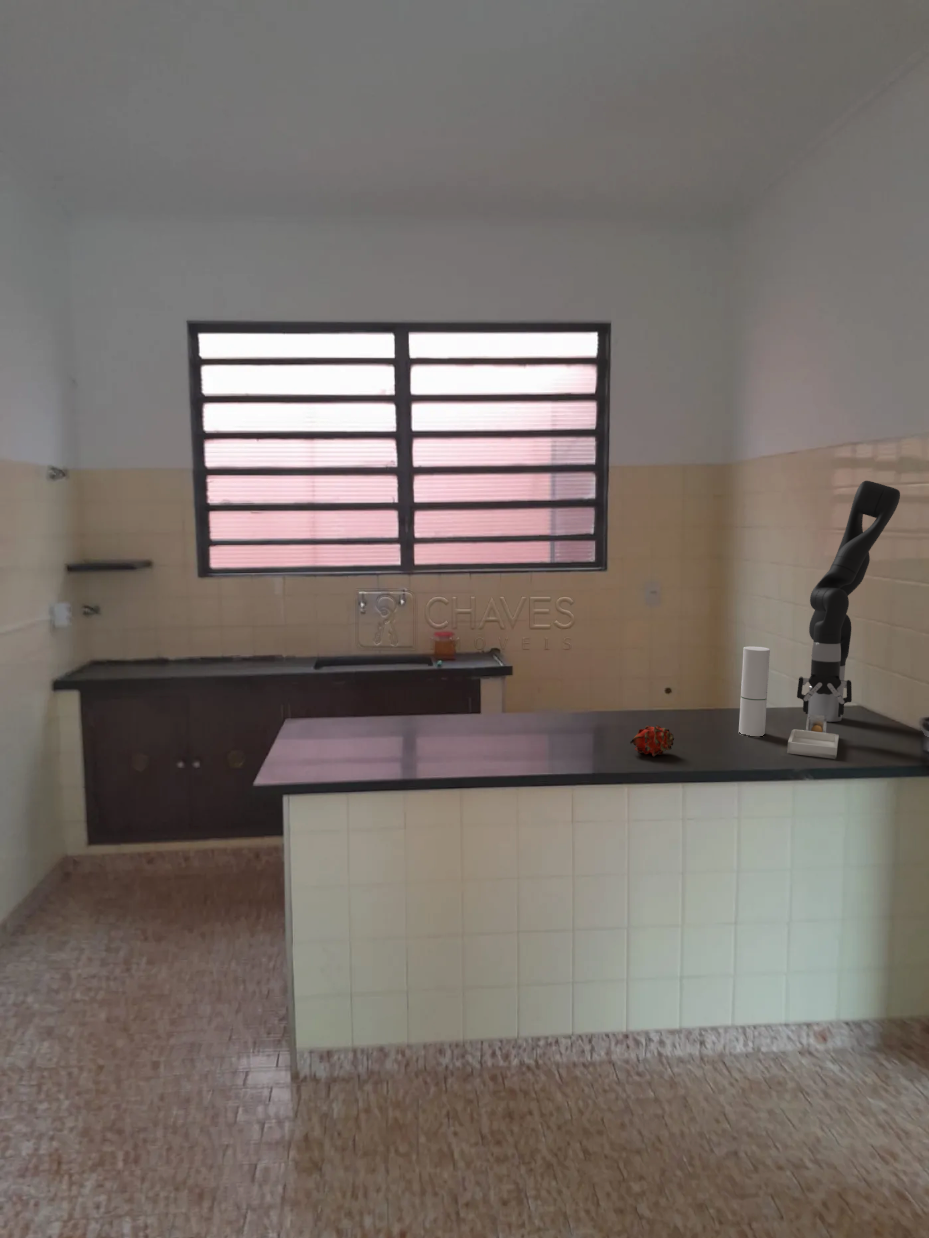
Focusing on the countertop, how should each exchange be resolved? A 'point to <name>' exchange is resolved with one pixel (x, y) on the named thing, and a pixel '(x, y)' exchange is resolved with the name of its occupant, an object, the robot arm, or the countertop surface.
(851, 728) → the countertop surface
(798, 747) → the tray
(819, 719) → the scoop
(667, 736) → the dragon fruit
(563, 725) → the countertop surface
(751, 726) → the cylindrical container
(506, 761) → the countertop surface
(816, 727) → the ball
